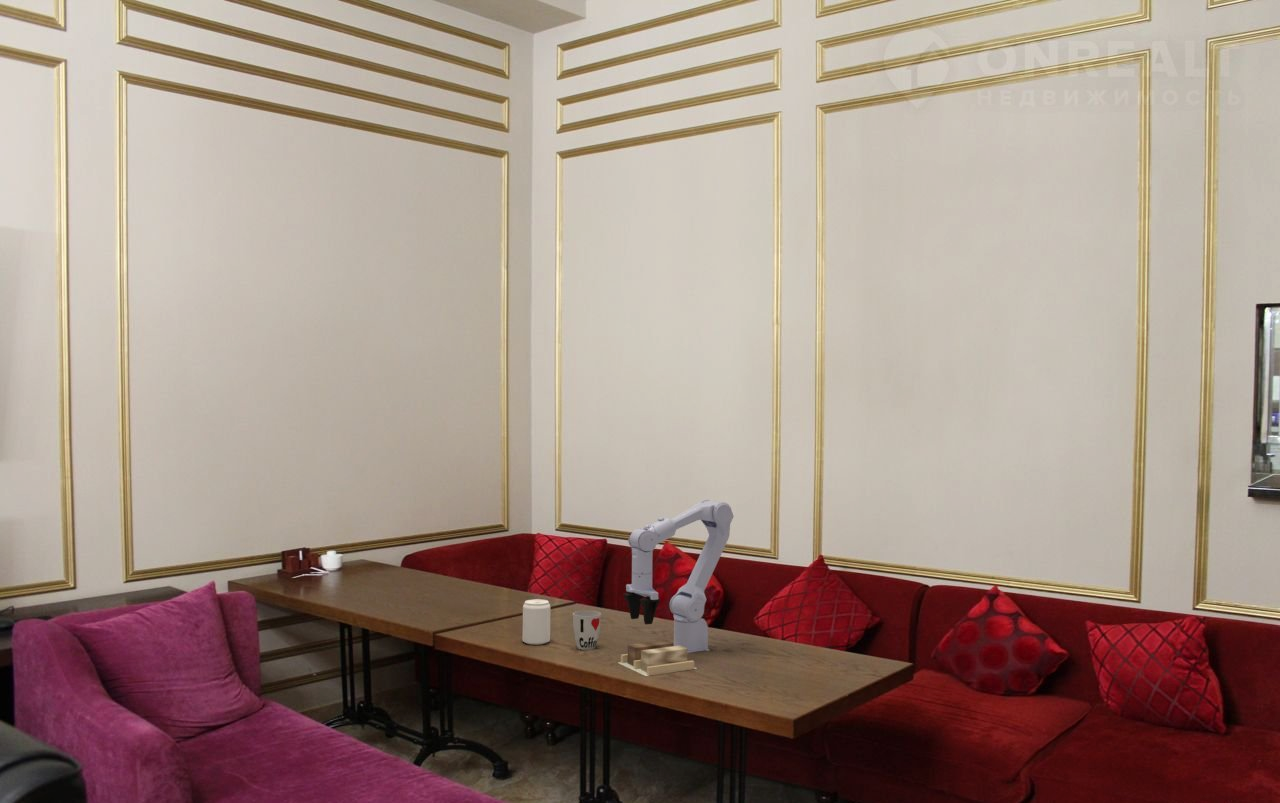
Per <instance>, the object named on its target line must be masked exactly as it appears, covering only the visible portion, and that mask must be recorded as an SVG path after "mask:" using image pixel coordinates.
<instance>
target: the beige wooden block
mask: <svg viewBox="0 0 1280 803" xmlns="http://www.w3.org/2000/svg"><path fill="white" fill-rule="evenodd" d="M688 654H689V653H688V649H687V648H685V647H682V646H674V645H673V646H672V647H664V648H657V649H649V650H641V670H643V671H645V672H647V667H649V666H656V665H663V664H671V663H678V662H685V661H688Z"/></svg>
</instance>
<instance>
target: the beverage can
mask: <svg viewBox="0 0 1280 803" xmlns="http://www.w3.org/2000/svg"><path fill="white" fill-rule="evenodd" d="M550 640H551V604H550V601H549V600H547V599H543V598H542V599H539V598H536V599H533V598H532V599H527V600H525V601H524V603H523V606H522V642H524V643H526V644H527V645H533V646H534V645H535V646H536V645H537V646H539V645H545V644H547V643H549V642H550Z"/></svg>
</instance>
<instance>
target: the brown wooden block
mask: <svg viewBox="0 0 1280 803" xmlns="http://www.w3.org/2000/svg"><path fill="white" fill-rule="evenodd" d="M672 646H674V642H671V641H669V640H667V639H666V640H665V639H663V640H656V641H655V640H654V641H649V642H648V641H647V642H641V643H639V642H638V643H632V644H628V645H627V654H628V664H630V665H632V666H634V661H635V660H641V650H649V649H657V648H664V647H672Z"/></svg>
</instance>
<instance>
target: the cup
mask: <svg viewBox="0 0 1280 803" xmlns="http://www.w3.org/2000/svg"><path fill="white" fill-rule="evenodd" d="M601 618H602V613H601V612H600V611H597V610H578V611H574V612H572V624H573V626H572V627H573V633H574V639H575V644H576V646H577V649H578V650H580V649H581V651H592V649H593V650H595V649H596V647H597V643H598V640H599V635H600V629H601V620H602V619H601Z"/></svg>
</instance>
